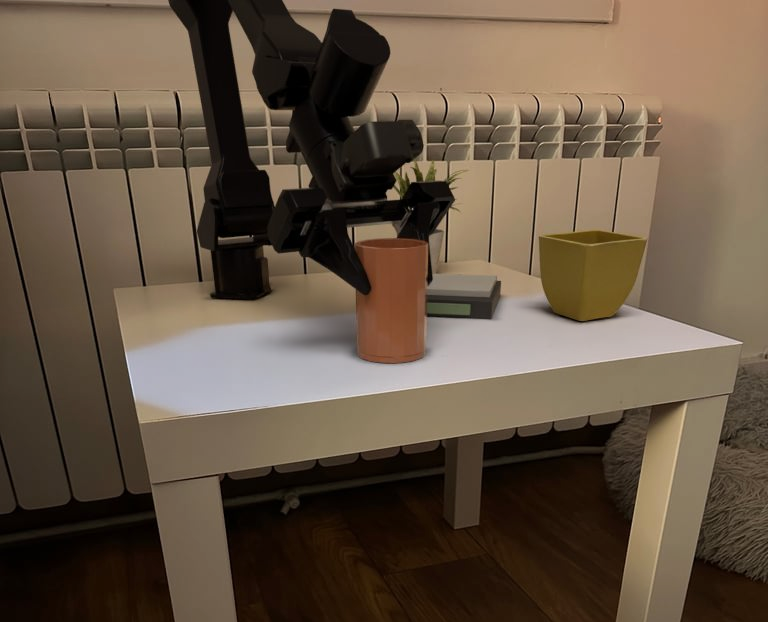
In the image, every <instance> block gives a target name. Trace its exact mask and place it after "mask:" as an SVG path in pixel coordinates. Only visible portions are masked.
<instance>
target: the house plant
mask: <svg viewBox="0 0 768 622" xmlns="http://www.w3.org/2000/svg"><path fill="white" fill-rule="evenodd" d="M413 164H414V167H413V166H409V168H410V169H412V170H413V173H414V175H415V182H421V181H436V174H437V172H438V170H437V168H436V169H435V160H434V159H432V160H431V163H430V165H429V168H428V171H427V174H426V176H425V179H424V175H423V172H421V170H420V168H419V165H418V162H417V159H416V158H415V159H414V160H413ZM469 171H470V170H469V169H461V170H460V169H459V170H456V171H454V172H453V173H451V174H450V175H448V176H447V177H446V178H445V179H444V180H443V181H446V182H447V184H448V186H449V188H450V190H451V191H453V190H455V189H458V188H459V187H457V186H455V187H450V186H451V184H452V183H454V182H456V180H459V179H462V177H457V176H459V175H460V174H463V173H467V172H469ZM393 174H394V176H395V178H396V180H397V181H396V182H397V184H398V186H399V188H398V187H397V186H396V184H395V185H394V186H393V189H394V190H395V191H396V192H397V194H398V195H399V197H400V198H401V199H402V198H403V196H404V194H405V192H406V191H407V189H408V187H409V185H410V184H411V181H410V178H409V175H408V172H405V173H404V177H402V176H401V175H400V173H398V171H396V172H394V173H393ZM456 200H457V198H455V201H456ZM462 204H464V203H458V205H462ZM455 205H457V203H455V204H452V206H451V207H450V209H452V210H453V211H455V210H456V211H457V212H459V213H461V214H462V212H461V210H459V209H458V208H456V207H453V206H455ZM444 235H445V231H444V230H443V229H439V228H436V230H435V231H434V233H433V234H432V235H430V236H429V245H430V255H431V265H432V274H438V267H439V262H440V256H441V252H442V251H441V250H442V246H443V240H444ZM397 236H398V234H397V233H396V237H397Z"/></svg>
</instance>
